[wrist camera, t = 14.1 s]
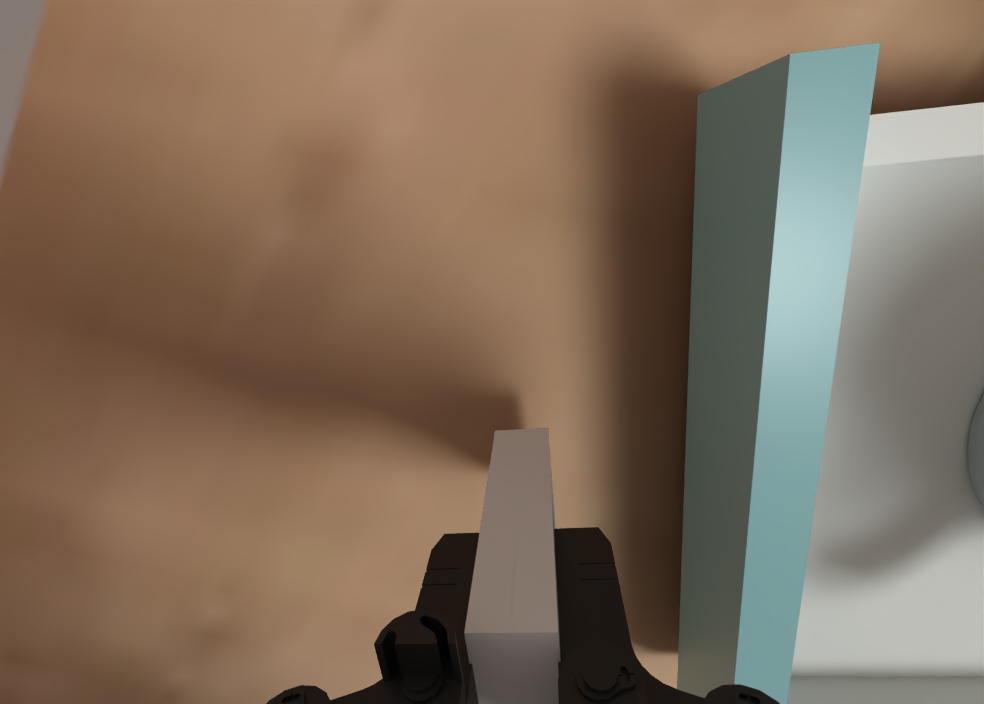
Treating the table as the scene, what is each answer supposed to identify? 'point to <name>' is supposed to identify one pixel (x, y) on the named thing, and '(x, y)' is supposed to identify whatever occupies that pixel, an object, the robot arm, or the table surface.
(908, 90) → the table surface
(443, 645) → the robot arm
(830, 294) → the tray
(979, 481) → the mug
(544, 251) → the table surface
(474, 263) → the table surface
